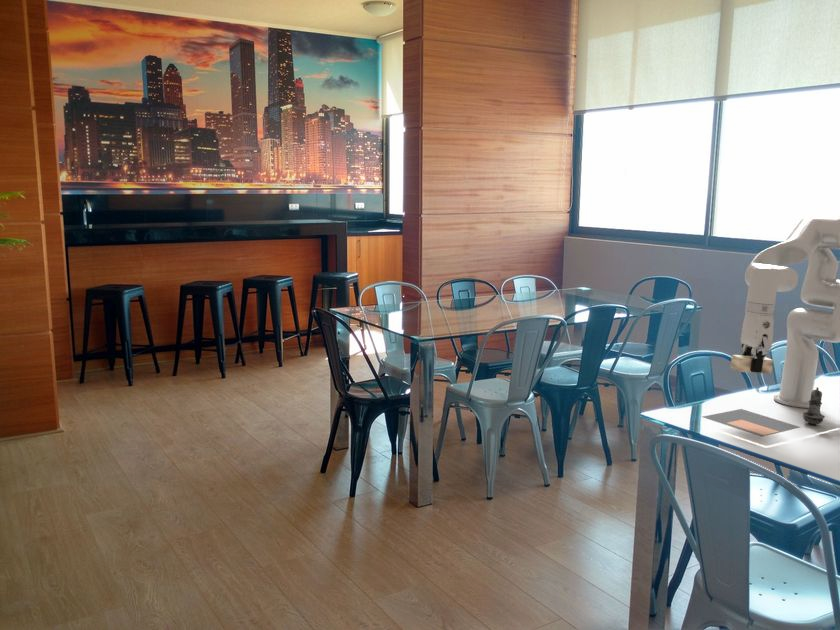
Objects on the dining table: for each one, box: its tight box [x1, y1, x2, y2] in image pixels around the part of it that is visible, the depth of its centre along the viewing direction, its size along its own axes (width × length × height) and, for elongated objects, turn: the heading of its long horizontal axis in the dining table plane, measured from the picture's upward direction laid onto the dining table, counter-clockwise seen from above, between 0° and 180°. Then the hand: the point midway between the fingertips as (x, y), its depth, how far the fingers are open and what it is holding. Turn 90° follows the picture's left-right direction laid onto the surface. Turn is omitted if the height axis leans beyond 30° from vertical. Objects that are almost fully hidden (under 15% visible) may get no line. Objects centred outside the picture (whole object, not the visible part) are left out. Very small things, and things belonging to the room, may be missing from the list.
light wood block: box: [729, 354, 774, 375], centre depth 214 cm, size 10×5×4 cm, turn 93°
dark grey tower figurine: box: [802, 386, 825, 427], centre depth 213 cm, size 6×6×12 cm
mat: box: [702, 408, 801, 437], centre depth 213 cm, size 20×19×1 cm
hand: (750, 368), depth 214 cm, fingers closed on light wood block, 5 cm apart
